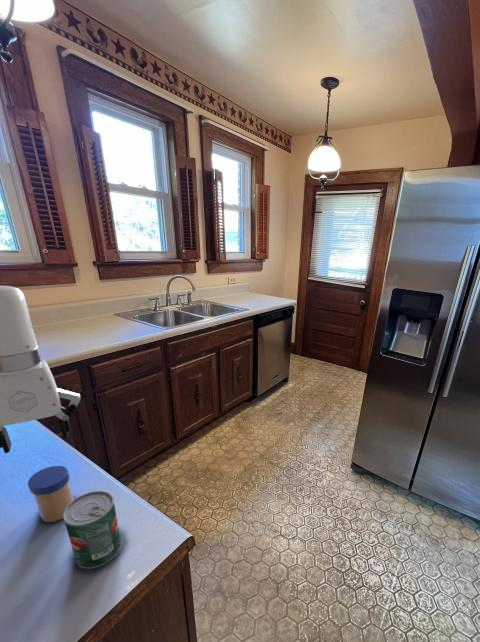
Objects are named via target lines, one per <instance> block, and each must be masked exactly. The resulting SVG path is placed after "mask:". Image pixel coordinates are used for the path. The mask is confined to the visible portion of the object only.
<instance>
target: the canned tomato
mask: <svg viewBox="0 0 480 642" xmlns="http://www.w3.org/2000/svg"><path fill="white" fill-rule="evenodd" d="M63 522H64V526H65V529H66V532H67V535H68V538H69V542H70V545H71V549H72V552H73V556H74V559H75V563H76V565H77V566H78V567H79V568H81V569H85V570H93V569H97V568H99V567H102V566H104V565H106V564H108V563H109V562H110V561H112V560H113V559H114V558H115V557H116V556H117V555H118V554H119V552H120V550H121V548H122V545H123V539H122V537H121V536H122V535H121V530H120V525H119V521H118V515H117V511H116V506H115V500H114V497H113V495H112V494H111V493H110V492H108V491H104V490H96V491H95V490H94V491H90V492H87V493H84V494H82V495H79V496H78V497H76V498H74V500H73V501H72V502H71V503H70V504H69V505H68V506H67V507H66V509H65V510H64V513H63Z"/></svg>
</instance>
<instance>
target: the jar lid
mask: <svg viewBox="0 0 480 642" xmlns="http://www.w3.org/2000/svg"><path fill="white" fill-rule="evenodd" d="M68 481H69V482H70V473H69V469H68V468H67V467H65V466H63V465H52V466H48V467H45V468H43V469H40V470H38V471H36V472H35V473H34V474H32V475H31V476H30V477H29V479H28V481H27V486H28V489H29V492H30V493H31V494H32V495H33V494H35V495H46V494H50V493H53V492H55V491H57V490H59V489H61V488H62V487H63V486H65V485H66V484H67V482H68Z"/></svg>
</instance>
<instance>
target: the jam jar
mask: <svg viewBox="0 0 480 642" xmlns="http://www.w3.org/2000/svg"><path fill="white" fill-rule="evenodd" d="M32 495H33V497H34V498H33V499H34V501H35V504H36V506H37V509H38V513H39V515H40V518H41V520H42V521H43V522H46V523H55V522H58V521H61V520H62V519H63V513H64V510H65V509H66V507H67V506H68V505H69V504H70V503H71V502H72V501H73V500H75V498H74V494H73V491H72V487H71V484H70V480H69V481H68V482H67V484H66V485H65V486H63V487H62V488H61V489H59V490H57V491H55V492H53V493H50V494H46V495H35V494H33V493H32ZM63 520H64V519H63Z"/></svg>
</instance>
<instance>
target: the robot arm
mask: <svg viewBox="0 0 480 642" xmlns="http://www.w3.org/2000/svg"><path fill="white" fill-rule="evenodd" d="M61 399H64V400H69V401H70V402H69V403H68V404H67V406H66V407H64V406H62V404H61ZM81 400H82V396H81V394H80V393H77V392H73V391H70V390H65V389H62V388H58V386H57V383H56V380H55V377H54V375H53V373H52V371H51V369H50V367H49V365H48V363H47V361H46V360H44V359H42V358H41V354H40V350H39V346H38V343H37V339H36V335H35V331H34V327H33V324H32V320H31V316H30V312H29V308H28V304H27V301H26V297H25V295H24V293H23V292H22V290H20V289H19V288H18V287H16V286H11V285H0V449H2V450H3V453H4V454H8V453H10V452H11V448H12V441H11V439H10V435H9V433H8V430H7V428H6V427H5V426H11V425H17V424H21V423H26V422H31V421H37V420H40V419H41V420H42V419H45V418H50V417H54V416H55V417H56V418H58V422H59V427H60V431H61V434H62V439H64V440H66V439H69V434H68V433H71V432H72V429H71V425H70V420H69V419H70V417H71V416H72V414H73V413H75V412H76V410H77V407H78V406H79V404H80V402H81Z"/></svg>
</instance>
